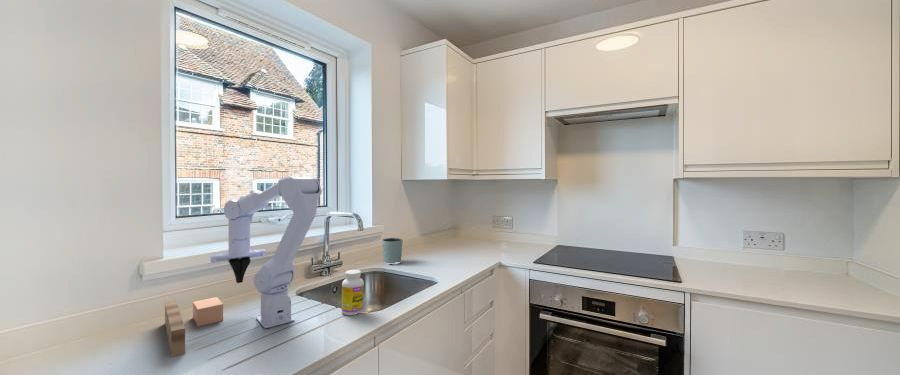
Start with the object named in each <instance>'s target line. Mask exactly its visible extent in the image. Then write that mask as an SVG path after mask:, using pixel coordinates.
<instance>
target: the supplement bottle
mask: <svg viewBox="0 0 900 375" xmlns="http://www.w3.org/2000/svg"><path fill="white" fill-rule="evenodd" d="M344 274H345V279H344V280H343V281H342V282H341V313H342V314H343V315H345V316H356V313H359V314H361V313H363V310H364V298H365V297H364V291H365V289H364V286H365V282H364V280H363V278H361V275H362V272H361V270H360V269H350V270H349V269H348V270H346V271H345V273H344Z"/></svg>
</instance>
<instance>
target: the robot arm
mask: <svg viewBox="0 0 900 375" xmlns="http://www.w3.org/2000/svg"><path fill="white" fill-rule="evenodd" d="M322 193H323V190H322V188H321V184H320V182H319V180H318V179H317V178H315V177H313V176H310V177H299V176H298V177H297V176H296V177H295V176H294V177H293V176H286V177H284V178H280V179H279V180H278V181H277V182H276V183H275V184H273V185H271V186H270V187H268V188H266V189H264V190H262V191H261V190H256V189H255V190H254V189H253V190H251V191H249V193H248V194H246V195H244V196H243V195H242V196H240V197H239V198H238V199H237V200H233V199H230V200H228V201H227V202H226V203H225V204H224V206H223V214H224V216H225V218H226V219H227V220H228V233H227V234H228V237H227V238H228V252H224V253H219V254H212V255H210V263H211V264H216V263H219V262H225V261H226V262H227V261H228V264H229V265H230V267H231V270H232V271H233V274H234V276H235V283H237V284H240V283H243V281H244V278H245V274H246V272H247V270H248V269H247V268H248V267H249V265H250V263H251V261H252V260H251V259H250V258H257V257H267V250H266V249H262V248H261V249H251V223H252V222H253V216H254V215H255V214H256V213H257V212H259V211H261V210H263V209H266V208H267V207H268V206H269V203H270V202H271V201H273V200H274V201H275V200H277V199H279V198H281V197H282V199H283V200H284V202H285V203H286V205H287V206H288V208H289V210H290V211H292V212H293V213H292V216H291V218H290V220H289V222H288V225H287V226H286V228H285V231H284V233H283V235H282V237H281V239H280V241H279V243H278V246H277V247H276V250H275V251H274V254H273V255H272V257H271V259H269V260H268V261H266V262H265V263H264V264H263V265H262V266H261V268H260V269H259V270H258V271H256V273H255V274H254V276H253V285H254V288H255V289H256V290H257V292H258V293H260V315H257V316H256V320H257V321H258V322H259V324H260V326H262V327H263V328H264V329H268V328H273V327H276V326H280V325H284V324H287V323H292V322H294V321H295V318H294V317H293V316H292V299H291V298H290V296H289V288H290V287H291V283H293V281H294V278H295V272H296V269H297V265H296V264H295V262H294V260H295V258H296V256H297V254H298V252H299V249H300V248H301V245H302V243H303V241H304V240H305V237H306V236H307V233H308V232H309V230H310V227H311V225H312V224H313V221H314V219H315V217H316V216H317V209H318V200H319V199H320V197H321V195H322Z"/></svg>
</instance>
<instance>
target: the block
mask: <svg viewBox="0 0 900 375" xmlns="http://www.w3.org/2000/svg"><path fill="white" fill-rule="evenodd" d="M192 319H193V321H194V323H195V324H196V325H197V327H201V325H202V326H205V324H206V325H210V324H213V322H214V323H218V322H222V321H224V303H223V302H222V300H220V298H218V296H216V297H215V296H214V297H211V298H206V299H205V298H204V299H200V300H196V301H192ZM221 320H222V321H221ZM217 321H218V322H217ZM209 323H210V324H209Z"/></svg>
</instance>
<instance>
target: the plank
mask: <svg viewBox="0 0 900 375" xmlns="http://www.w3.org/2000/svg"><path fill="white" fill-rule="evenodd" d="M179 308H180V307H179V306H178V302H177V300H174V301H173V300H172V301H168V302H164V326H165V331H166V335H167V341H168V346H169V350H170V352H169V353H170V355H171V356H170V357H171V358H174V357H176V356H181V355H184V354H186V327H185V324H184V320H183V318H182V315H181V312H180V309H179Z"/></svg>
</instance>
